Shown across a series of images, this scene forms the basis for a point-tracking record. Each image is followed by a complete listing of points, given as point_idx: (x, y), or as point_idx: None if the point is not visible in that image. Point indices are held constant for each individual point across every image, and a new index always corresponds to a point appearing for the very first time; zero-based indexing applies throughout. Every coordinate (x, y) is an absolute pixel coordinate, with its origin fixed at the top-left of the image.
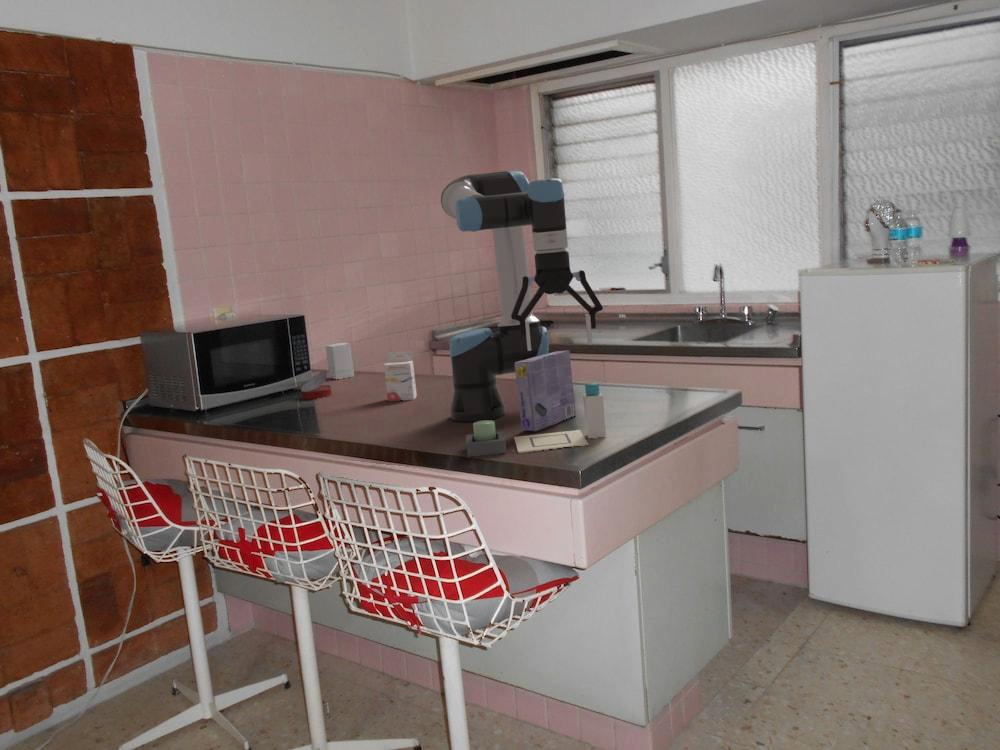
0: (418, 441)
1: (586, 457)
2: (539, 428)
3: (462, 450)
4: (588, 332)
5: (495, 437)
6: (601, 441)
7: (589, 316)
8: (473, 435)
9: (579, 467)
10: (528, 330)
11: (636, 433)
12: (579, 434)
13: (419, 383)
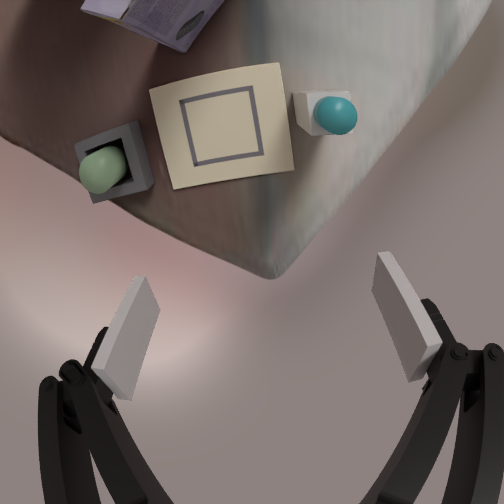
0: (18, 102)
1: (287, 234)
2: (192, 41)
3: None
4: (387, 323)
5: (125, 167)
6: (318, 147)
7: (417, 375)
8: (85, 148)
9: (276, 275)
10: (137, 368)
11: (380, 116)
12: (278, 97)
13: None
